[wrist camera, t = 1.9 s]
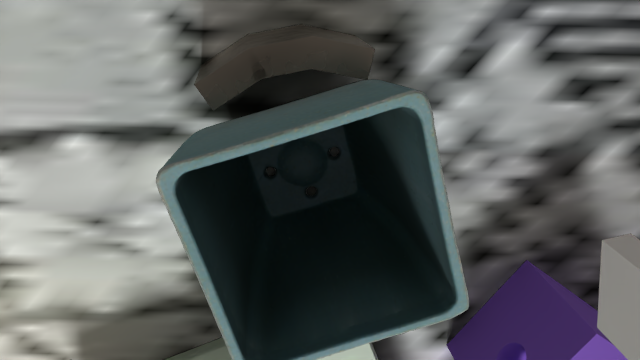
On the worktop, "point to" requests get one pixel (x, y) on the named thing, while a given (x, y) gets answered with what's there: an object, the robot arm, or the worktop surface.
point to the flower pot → (319, 223)
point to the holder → (281, 59)
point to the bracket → (533, 324)
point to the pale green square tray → (216, 356)
